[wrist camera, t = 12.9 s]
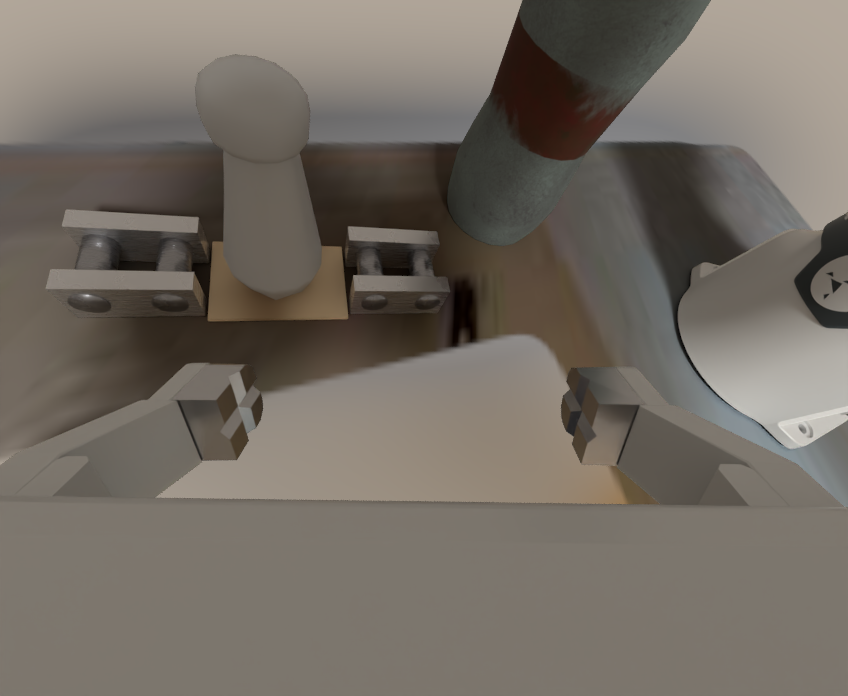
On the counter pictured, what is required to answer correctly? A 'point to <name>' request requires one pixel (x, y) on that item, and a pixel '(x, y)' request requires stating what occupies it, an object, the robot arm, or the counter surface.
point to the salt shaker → (262, 172)
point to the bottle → (556, 105)
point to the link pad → (311, 304)
